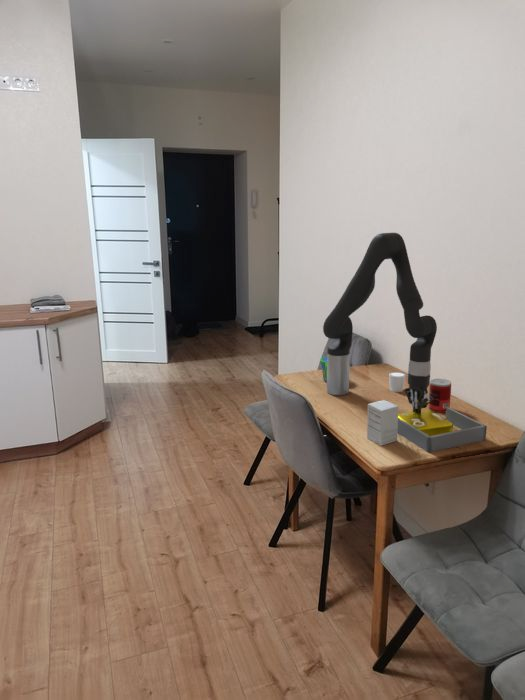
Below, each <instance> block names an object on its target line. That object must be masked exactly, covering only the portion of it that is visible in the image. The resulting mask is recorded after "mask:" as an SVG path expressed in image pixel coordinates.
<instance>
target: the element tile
mask: <svg viewBox="0 0 525 700" xmlns="http://www.w3.org/2000/svg"><path fill="white" fill-rule="evenodd" d="M398 418H400V419H402V420H403V421H405V422H407V423H408V424H410V425H412V426H413V427H415V428H417V429H418V430H420V431H422V432H423V433H425V434H427V435H428V436H434V435H439V434H444V433H449V432H453V429H454V425H453V424H452V423H451V422H450V421H448V420H447V419H446V417H444V416H442V415H441V414H439V413H438V412H435V411H432V410H431V409H425V410H421V413H415V412H413V411H409V412H402V413H400V412H399V413H398Z"/></svg>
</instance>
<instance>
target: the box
mask: <svg viewBox="0 0 525 700" xmlns="http://www.w3.org/2000/svg"><path fill="white" fill-rule="evenodd" d="M445 419H447V420H448V421H450V422H451V423H452V424H453V426H455V427H458V428H459V430H455V431H452V432H449V433H444V434H439V435H434V436H428V435H427V434H425V433H423V432H422V431H420V430H418V429H417V428H415V427H413V426H412V425H410V424H408V423H407V422H405V421H403V420H402V419H400V418H398V430H397V434H399V435H400V436H401V437H403V438H405V439H407V440H408V441H410V442H411V443H413V444H414V445H416V446H417V447H419V448H421V449H422V450H423V451H425V452H427V453H433V452H438V451H442V450H447V449H451V448H457V447H459V446H460V447H461V446H465V445H469V444H473V443H477V442H478V443H479V442H483V441H486V440H487V439H486V438H487V427H488V426H487V425H485V424H484V423H481V422H479V421H477V420H475V419H473V418H471V417H469V416H468V415H465V414H463V413H461V412H459V411H457V410H455V409H453V408H451V407H450V408H449V407H448V408H447V409H446V412H445Z"/></svg>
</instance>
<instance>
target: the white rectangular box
mask: <svg viewBox="0 0 525 700" xmlns="http://www.w3.org/2000/svg"><path fill="white" fill-rule="evenodd" d="M398 414H399V405H397V404H395V403H392V402H390V401H387V400H385V399H382V400H379V401H374V402H370V403H368V404H367V421H366V422H367V423H366V428H367V429H366V430H367V431H366V438H367V440H370V441H371V442H374V443H375V444H377V445H379V446H384V445H388V444H392V443H395V442H397V441H398V433H397V430H398Z"/></svg>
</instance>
